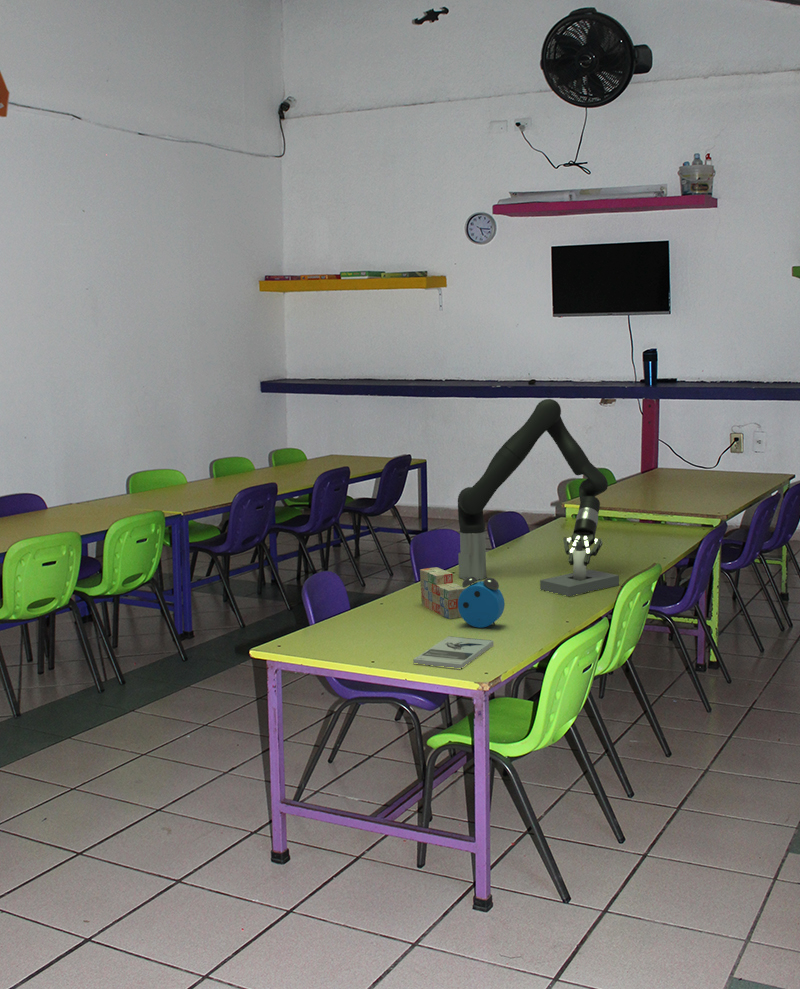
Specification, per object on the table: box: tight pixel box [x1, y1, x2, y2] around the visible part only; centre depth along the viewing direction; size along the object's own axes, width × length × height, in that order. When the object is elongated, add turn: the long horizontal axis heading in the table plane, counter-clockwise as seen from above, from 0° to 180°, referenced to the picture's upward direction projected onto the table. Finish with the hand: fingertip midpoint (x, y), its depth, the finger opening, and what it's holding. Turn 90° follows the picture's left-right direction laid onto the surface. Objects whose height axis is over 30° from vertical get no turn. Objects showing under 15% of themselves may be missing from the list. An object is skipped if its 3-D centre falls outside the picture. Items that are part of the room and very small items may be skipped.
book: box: [412, 635, 494, 668], centre depth 271 cm, size 23×14×2 cm, turn 153°
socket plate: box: [539, 568, 620, 597], centre depth 341 cm, size 24×14×4 cm, turn 125°
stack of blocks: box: [419, 567, 466, 620], centre depth 318 cm, size 21×6×12 cm, turn 22°
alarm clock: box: [458, 577, 505, 629], centre depth 297 cm, size 13×6×15 cm, turn 65°
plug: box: [572, 541, 587, 580], centre depth 340 cm, size 4×4×13 cm
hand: (578, 564), depth 339 cm, fingers closed on plug, 4 cm apart
